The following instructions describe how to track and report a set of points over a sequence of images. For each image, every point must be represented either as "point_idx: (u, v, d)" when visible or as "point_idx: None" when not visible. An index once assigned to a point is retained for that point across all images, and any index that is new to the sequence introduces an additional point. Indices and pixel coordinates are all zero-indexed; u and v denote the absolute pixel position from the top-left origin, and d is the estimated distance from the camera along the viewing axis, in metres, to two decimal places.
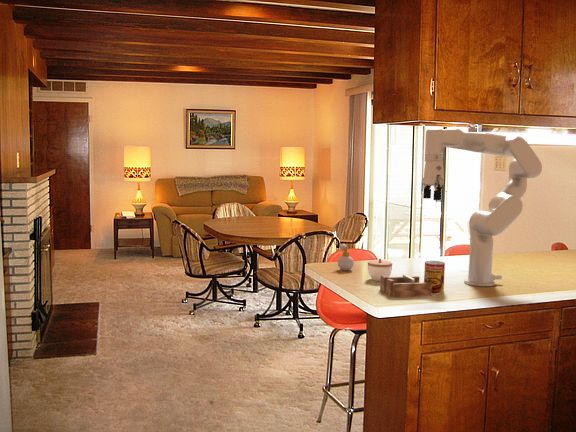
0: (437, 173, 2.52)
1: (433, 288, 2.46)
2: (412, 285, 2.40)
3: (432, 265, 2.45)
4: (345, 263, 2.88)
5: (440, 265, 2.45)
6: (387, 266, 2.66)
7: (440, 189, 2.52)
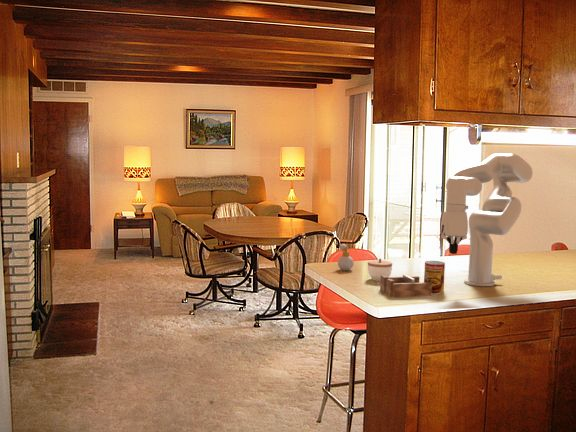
0: None
1: (433, 288, 2.46)
2: (412, 285, 2.40)
3: (432, 265, 2.45)
4: (345, 263, 2.88)
5: (440, 265, 2.45)
6: (387, 266, 2.66)
7: None
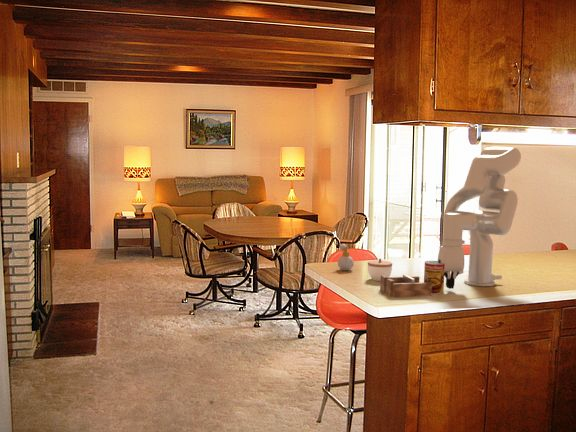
0: None
1: (432, 288, 2.46)
2: (412, 285, 2.40)
3: (432, 265, 2.45)
4: (345, 263, 2.88)
5: (440, 265, 2.45)
6: (387, 266, 2.66)
7: None
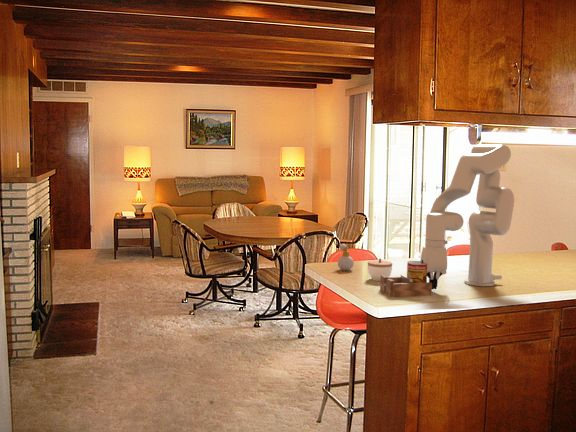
0: None
1: None
2: (412, 285, 2.40)
3: (414, 265, 2.44)
4: (345, 263, 2.88)
5: (422, 265, 2.43)
6: (387, 266, 2.66)
7: None
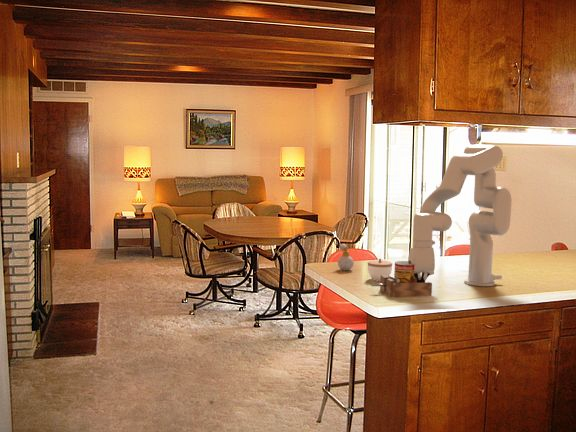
0: None
1: None
2: (412, 285, 2.40)
3: (401, 265, 2.43)
4: (345, 263, 2.88)
5: (409, 265, 2.42)
6: (387, 266, 2.66)
7: None
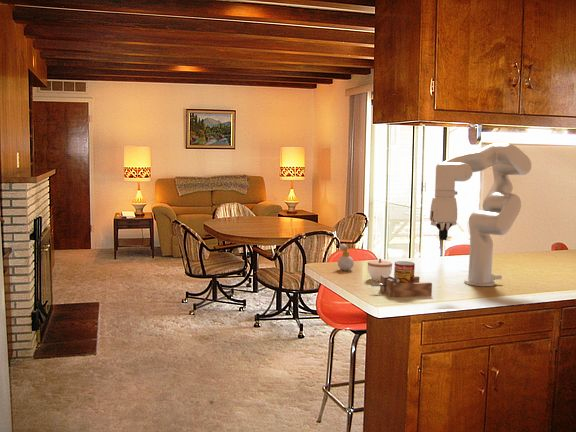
0: None
1: None
2: (412, 285, 2.40)
3: (401, 265, 2.43)
4: (345, 263, 2.88)
5: (409, 265, 2.42)
6: (387, 266, 2.66)
7: None
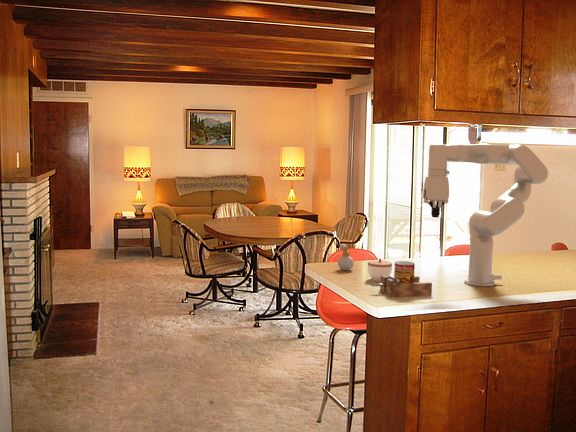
0: None
1: None
2: (412, 285, 2.40)
3: (401, 265, 2.43)
4: (345, 263, 2.88)
5: (409, 266, 2.42)
6: (387, 266, 2.66)
7: None
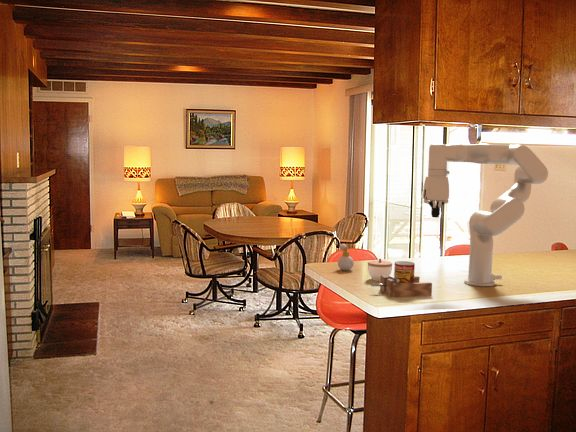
0: None
1: None
2: (412, 285, 2.40)
3: (401, 265, 2.43)
4: (345, 263, 2.88)
5: (409, 265, 2.42)
6: (387, 266, 2.66)
7: None
